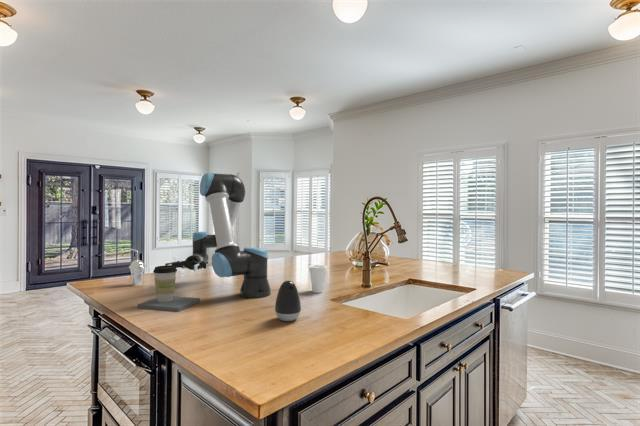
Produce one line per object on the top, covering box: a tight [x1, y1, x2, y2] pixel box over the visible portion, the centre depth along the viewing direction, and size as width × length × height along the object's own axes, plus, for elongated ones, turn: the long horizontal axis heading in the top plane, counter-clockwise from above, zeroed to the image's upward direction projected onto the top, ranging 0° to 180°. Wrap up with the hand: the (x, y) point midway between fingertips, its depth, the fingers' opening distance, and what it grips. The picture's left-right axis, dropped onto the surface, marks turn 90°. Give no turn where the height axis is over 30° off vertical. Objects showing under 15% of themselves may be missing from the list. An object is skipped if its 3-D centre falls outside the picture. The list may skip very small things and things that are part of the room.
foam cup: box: [308, 264, 328, 294], centre depth 182 cm, size 10×9×13 cm
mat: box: [137, 295, 201, 312], centre depth 155 cm, size 20×16×2 cm
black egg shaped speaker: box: [274, 280, 302, 322], centre depth 137 cm, size 10×10×15 cm
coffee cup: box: [152, 265, 178, 302], centre depth 156 cm, size 10×10×15 cm
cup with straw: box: [128, 248, 147, 287], centre depth 193 cm, size 8×9×20 cm
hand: (180, 268), depth 168 cm, fingers open, 13 cm apart
